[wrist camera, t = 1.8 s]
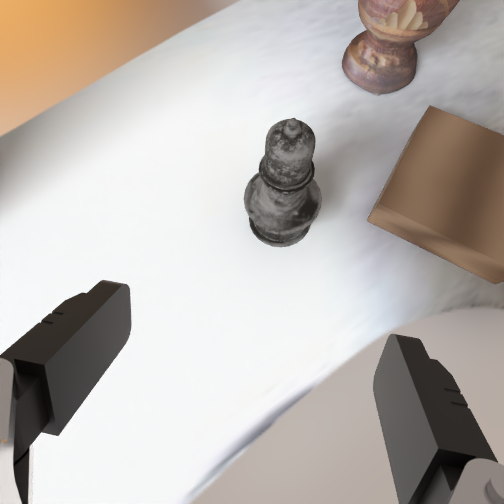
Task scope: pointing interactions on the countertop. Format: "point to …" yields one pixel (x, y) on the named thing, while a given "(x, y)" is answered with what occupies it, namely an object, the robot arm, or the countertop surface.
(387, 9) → the mortar and pestle
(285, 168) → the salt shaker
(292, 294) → the countertop surface
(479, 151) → the walnut plinth
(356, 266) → the countertop surface
